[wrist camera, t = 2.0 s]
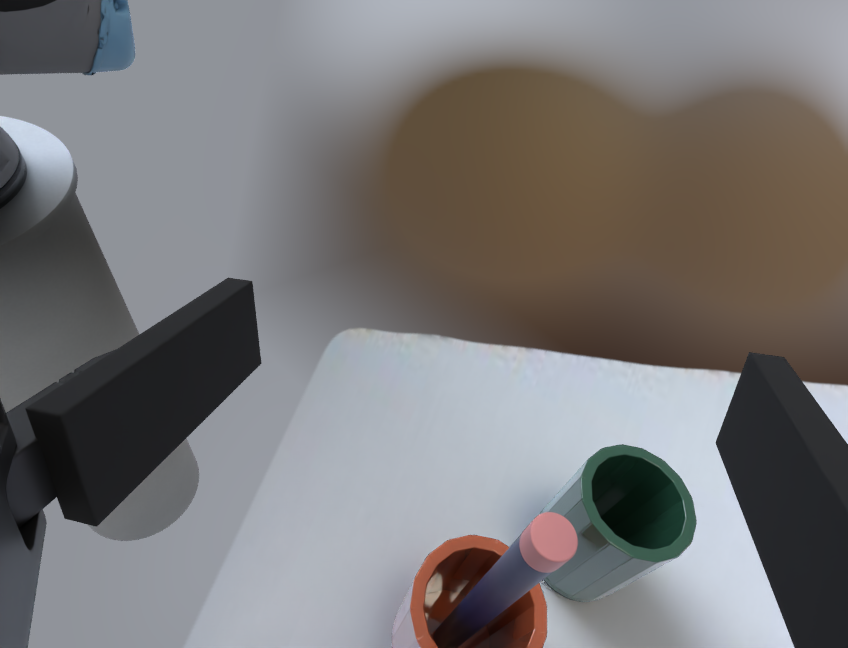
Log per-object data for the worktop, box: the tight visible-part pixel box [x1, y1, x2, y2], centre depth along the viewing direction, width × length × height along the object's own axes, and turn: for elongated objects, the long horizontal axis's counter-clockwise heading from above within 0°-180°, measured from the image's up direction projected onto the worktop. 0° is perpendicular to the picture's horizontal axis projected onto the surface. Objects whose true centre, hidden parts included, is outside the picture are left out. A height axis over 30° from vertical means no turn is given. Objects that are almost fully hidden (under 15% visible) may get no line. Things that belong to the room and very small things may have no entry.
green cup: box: [540, 444, 696, 602], centre depth 31 cm, size 6×6×9 cm
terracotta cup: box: [392, 535, 547, 648], centre depth 27 cm, size 6×6×9 cm
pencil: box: [434, 512, 578, 648], centre depth 23 cm, size 1×1×18 cm
